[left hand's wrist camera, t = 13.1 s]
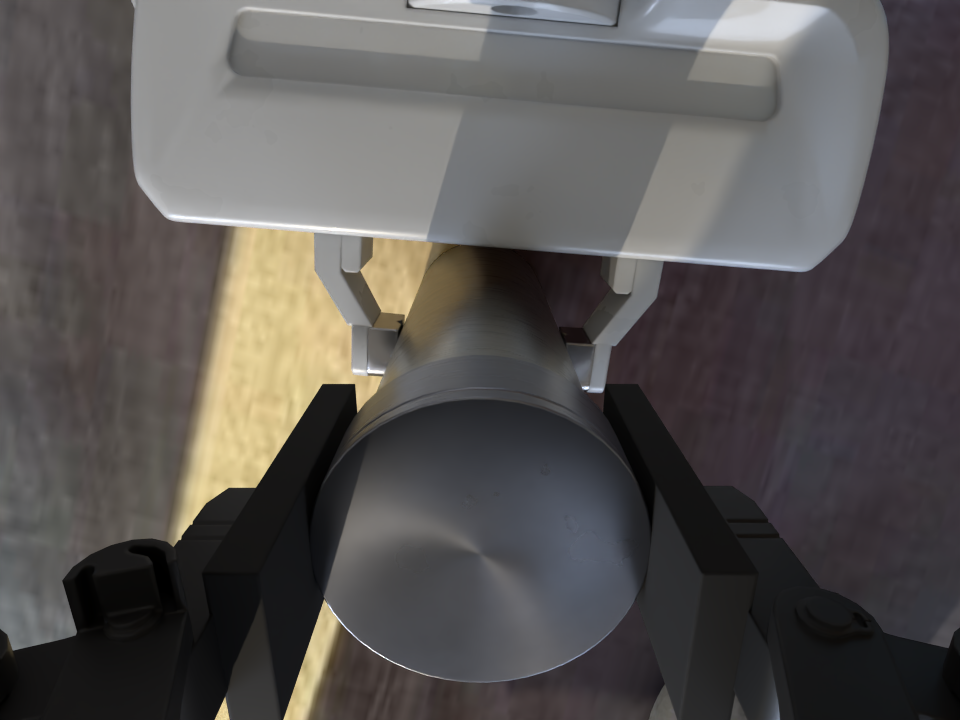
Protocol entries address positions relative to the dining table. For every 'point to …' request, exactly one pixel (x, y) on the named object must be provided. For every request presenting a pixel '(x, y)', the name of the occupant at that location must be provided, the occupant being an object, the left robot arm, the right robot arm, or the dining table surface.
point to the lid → (480, 522)
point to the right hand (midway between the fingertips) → (479, 378)
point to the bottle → (480, 314)
